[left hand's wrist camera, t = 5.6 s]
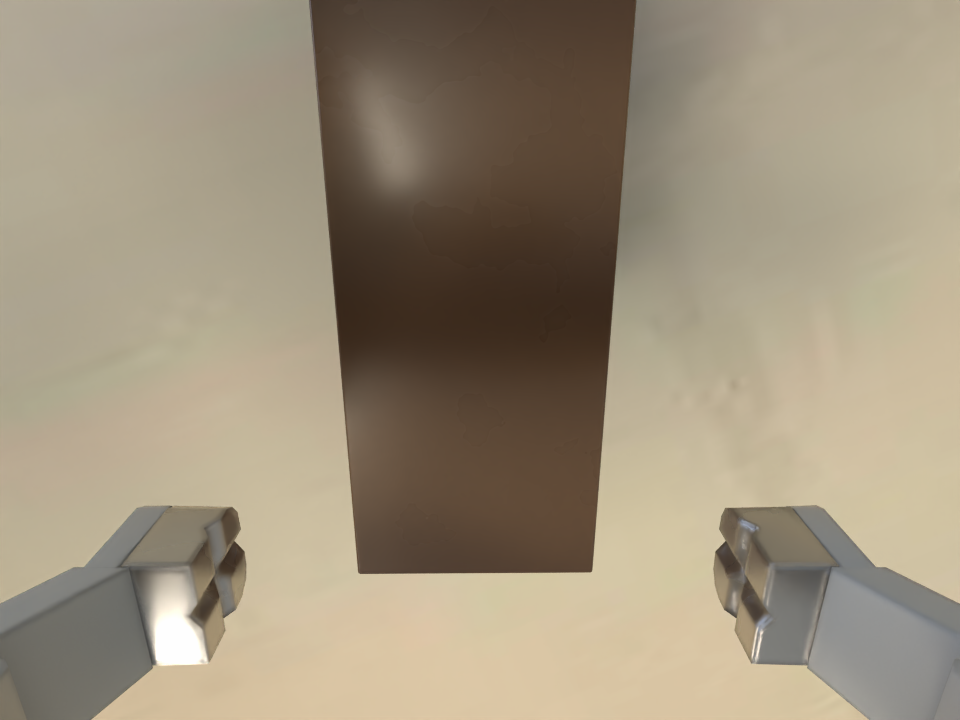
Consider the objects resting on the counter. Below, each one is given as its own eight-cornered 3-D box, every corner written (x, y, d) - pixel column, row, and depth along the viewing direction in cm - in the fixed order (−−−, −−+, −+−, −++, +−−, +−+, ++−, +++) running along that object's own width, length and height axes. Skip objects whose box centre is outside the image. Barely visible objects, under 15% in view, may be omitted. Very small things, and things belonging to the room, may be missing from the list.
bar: (552, 416, 22) (592, 573, 15) (397, 416, 22) (357, 574, 15) (592, -503, 14) (732, -1241, 6) (349, -504, 14) (201, -1246, 6)
